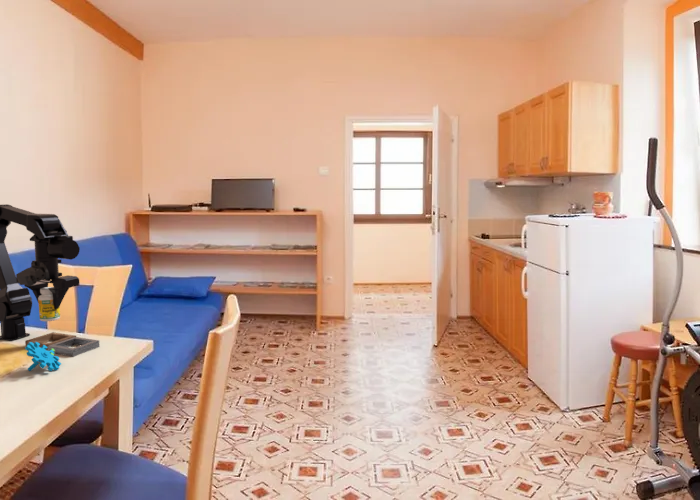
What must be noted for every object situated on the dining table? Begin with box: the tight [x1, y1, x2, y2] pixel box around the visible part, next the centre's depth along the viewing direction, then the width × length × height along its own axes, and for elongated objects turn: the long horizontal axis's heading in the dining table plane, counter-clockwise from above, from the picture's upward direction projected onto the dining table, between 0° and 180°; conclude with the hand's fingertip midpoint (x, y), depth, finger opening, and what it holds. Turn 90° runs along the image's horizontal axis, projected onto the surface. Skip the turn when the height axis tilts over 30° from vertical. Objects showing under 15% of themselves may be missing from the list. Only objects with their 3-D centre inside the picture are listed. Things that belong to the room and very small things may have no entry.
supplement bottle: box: [37, 286, 61, 322], centre depth 149 cm, size 5×5×10 cm
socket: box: [48, 336, 100, 358], centre depth 146 cm, size 9×9×2 cm
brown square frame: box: [24, 331, 77, 351], centre depth 150 cm, size 9×9×2 cm
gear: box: [24, 342, 62, 372], centre depth 130 cm, size 11×6×10 cm
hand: (49, 307), depth 149 cm, fingers closed on supplement bottle, 5 cm apart
